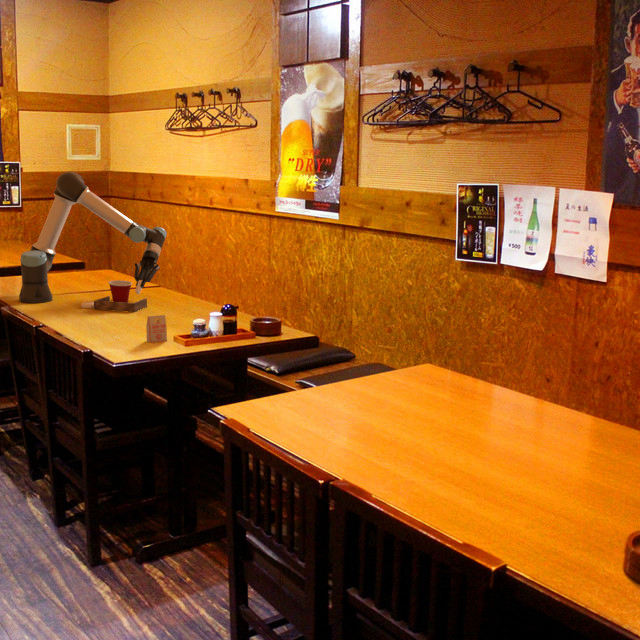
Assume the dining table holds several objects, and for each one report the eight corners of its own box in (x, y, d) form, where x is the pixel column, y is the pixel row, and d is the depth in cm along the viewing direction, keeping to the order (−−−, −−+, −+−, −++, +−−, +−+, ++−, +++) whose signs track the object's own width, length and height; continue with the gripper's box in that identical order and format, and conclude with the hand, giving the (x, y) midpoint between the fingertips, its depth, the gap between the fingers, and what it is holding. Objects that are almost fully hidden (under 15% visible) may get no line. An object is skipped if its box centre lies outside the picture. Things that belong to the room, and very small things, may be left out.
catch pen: (94, 309, 349) (93, 300, 348) (108, 304, 361) (107, 296, 360) (134, 312, 344) (134, 303, 344) (147, 307, 357) (146, 298, 356)
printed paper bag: (146, 341, 292) (146, 315, 289) (163, 339, 295) (163, 314, 293) (149, 343, 288) (149, 317, 286) (166, 341, 292) (166, 315, 290)
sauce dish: (78, 308, 352) (77, 304, 351) (86, 305, 359) (86, 301, 359) (93, 309, 350) (93, 305, 350) (102, 306, 358) (102, 302, 357)
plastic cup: (122, 310, 348) (121, 284, 346) (104, 307, 353) (103, 282, 350) (137, 306, 358) (137, 281, 355) (119, 304, 363) (119, 279, 360)
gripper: (165, 259, 382) (152, 297, 370) (142, 258, 385) (127, 296, 373) (161, 250, 376) (147, 288, 364) (137, 249, 379) (122, 287, 367)
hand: (137, 292), depth 368 cm, fingers closed
